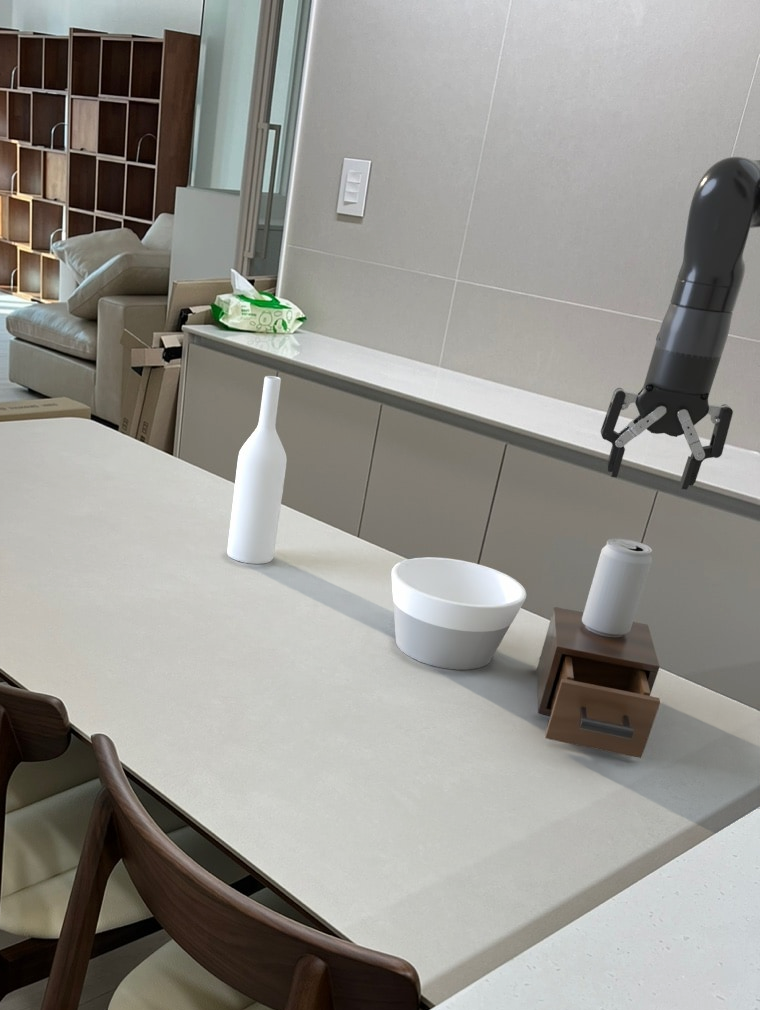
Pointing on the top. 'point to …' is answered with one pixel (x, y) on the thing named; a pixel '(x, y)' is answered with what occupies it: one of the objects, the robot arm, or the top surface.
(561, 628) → the cabinet
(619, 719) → the drawer
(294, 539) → the top surface
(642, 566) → the beverage can
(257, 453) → the bottle
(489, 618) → the bowl
